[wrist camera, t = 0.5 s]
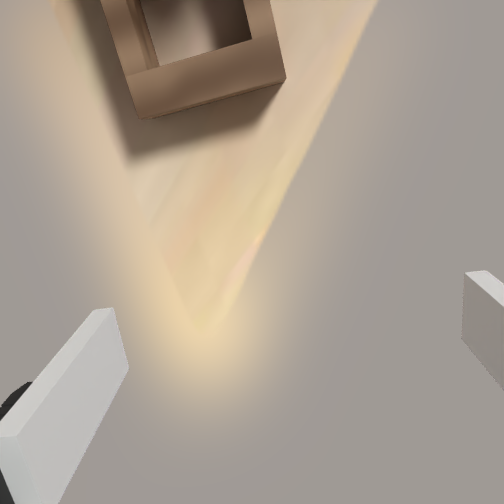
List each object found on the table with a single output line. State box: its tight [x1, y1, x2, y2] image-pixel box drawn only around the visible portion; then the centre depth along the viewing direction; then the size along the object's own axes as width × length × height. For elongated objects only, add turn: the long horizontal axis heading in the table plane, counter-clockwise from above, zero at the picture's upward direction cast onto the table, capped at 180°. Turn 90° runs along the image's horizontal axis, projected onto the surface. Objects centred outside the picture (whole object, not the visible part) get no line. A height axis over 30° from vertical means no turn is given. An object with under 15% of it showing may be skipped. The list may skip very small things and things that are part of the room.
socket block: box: [100, 0, 286, 119], centre depth 36 cm, size 16×13×5 cm
